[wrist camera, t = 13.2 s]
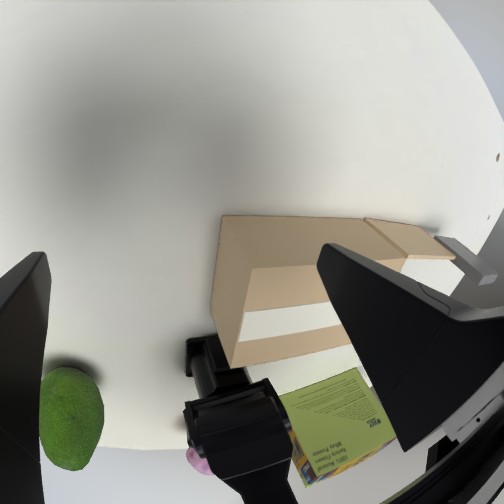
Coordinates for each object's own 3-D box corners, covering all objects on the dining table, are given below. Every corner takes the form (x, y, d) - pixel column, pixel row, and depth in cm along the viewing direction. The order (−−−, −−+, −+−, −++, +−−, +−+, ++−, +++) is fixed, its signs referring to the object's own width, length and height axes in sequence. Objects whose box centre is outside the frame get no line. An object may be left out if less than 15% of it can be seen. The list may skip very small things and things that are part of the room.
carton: (330, 296, 34) (363, 340, 28) (209, 310, 28) (230, 369, 23) (360, 218, 28) (407, 258, 23) (222, 215, 23) (252, 269, 18)
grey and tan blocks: (440, 227, 34) (498, 274, 26) (437, 235, 35) (493, 282, 27) (366, 214, 28) (443, 280, 20) (362, 225, 29) (436, 292, 20)
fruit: (31, 349, 24) (21, 453, 14) (99, 354, 27) (106, 461, 18) (47, 388, 27) (46, 477, 18) (105, 392, 31) (116, 481, 21)
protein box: (276, 396, 44) (316, 478, 32) (356, 366, 48) (401, 433, 36) (272, 420, 50) (304, 489, 38) (342, 393, 54) (379, 453, 42)
